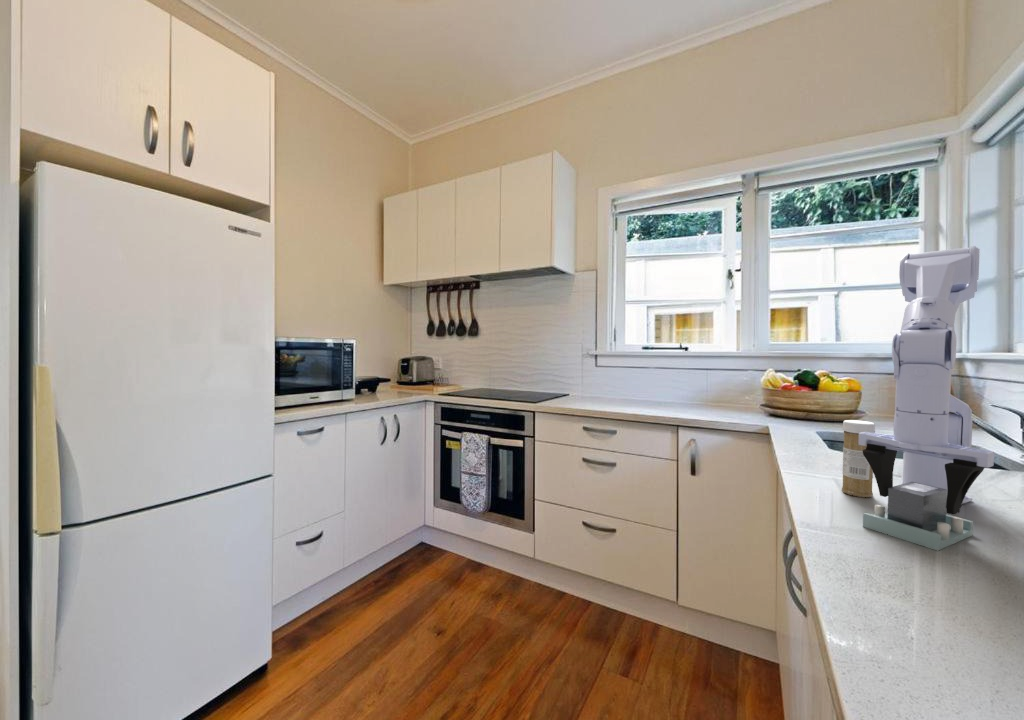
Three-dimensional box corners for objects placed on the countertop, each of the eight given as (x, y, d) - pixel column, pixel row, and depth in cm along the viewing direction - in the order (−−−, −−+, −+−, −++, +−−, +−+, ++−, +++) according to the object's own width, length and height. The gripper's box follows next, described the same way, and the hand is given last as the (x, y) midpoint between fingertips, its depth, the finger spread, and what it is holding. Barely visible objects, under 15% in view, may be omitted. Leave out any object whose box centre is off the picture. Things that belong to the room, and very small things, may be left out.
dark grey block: (910, 516, 67) (912, 481, 66) (945, 526, 63) (946, 488, 63) (887, 524, 64) (888, 487, 63) (922, 535, 60) (923, 495, 60)
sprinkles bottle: (876, 495, 79) (879, 422, 78) (867, 500, 76) (869, 424, 76) (846, 488, 82) (848, 418, 82) (836, 492, 80) (838, 420, 79)
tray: (899, 514, 70) (899, 497, 70) (972, 535, 62) (973, 515, 62) (862, 526, 65) (863, 508, 65) (937, 550, 57) (938, 529, 57)
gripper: (849, 406, 68) (846, 492, 68) (980, 421, 55) (975, 527, 55) (872, 404, 71) (869, 486, 71) (1001, 417, 58) (997, 517, 58)
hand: (917, 503), depth 63 cm, fingers open, 7 cm apart
